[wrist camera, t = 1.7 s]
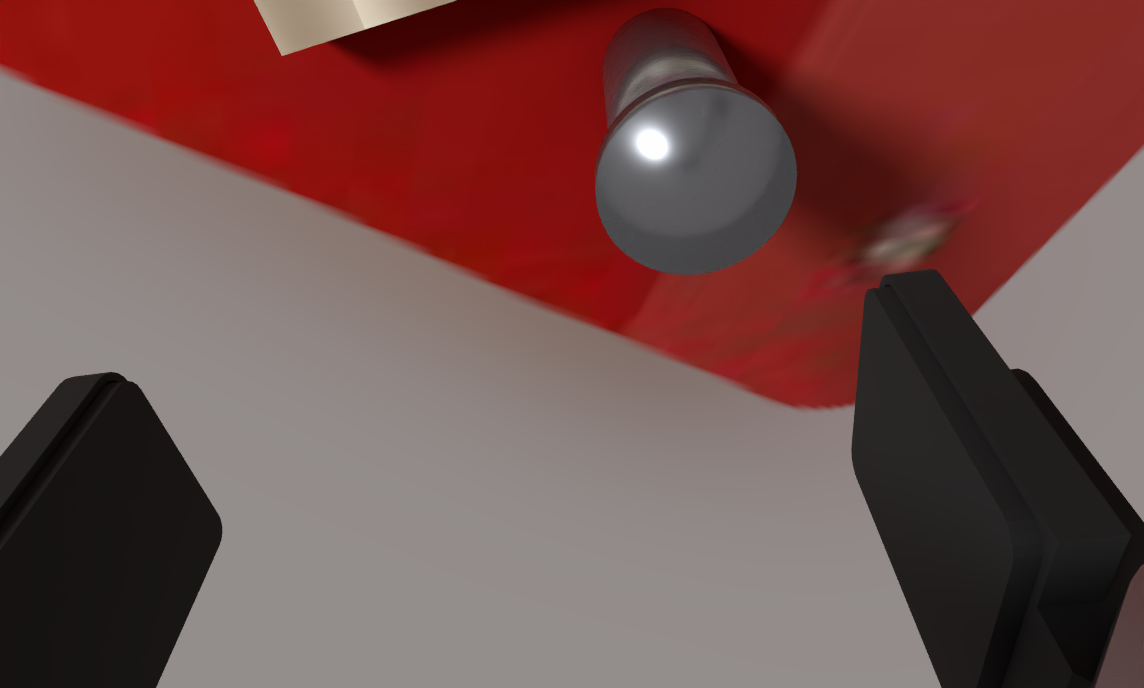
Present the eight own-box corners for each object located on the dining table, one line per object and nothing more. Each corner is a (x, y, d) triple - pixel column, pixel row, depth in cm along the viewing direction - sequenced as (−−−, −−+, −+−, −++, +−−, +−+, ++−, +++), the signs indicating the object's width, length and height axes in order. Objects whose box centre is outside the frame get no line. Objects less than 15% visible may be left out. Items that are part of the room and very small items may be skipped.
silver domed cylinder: (721, -28, 27) (783, 63, 19) (745, 118, 30) (807, 248, 22) (571, 18, 28) (572, 124, 20) (609, 155, 31) (623, 293, 23)
